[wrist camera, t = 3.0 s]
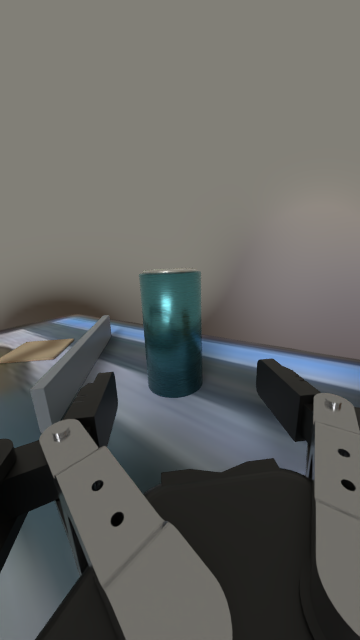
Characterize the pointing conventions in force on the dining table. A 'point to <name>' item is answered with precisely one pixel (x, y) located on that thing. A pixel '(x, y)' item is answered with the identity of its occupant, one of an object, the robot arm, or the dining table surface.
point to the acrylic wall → (68, 375)
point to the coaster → (36, 351)
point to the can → (172, 330)
